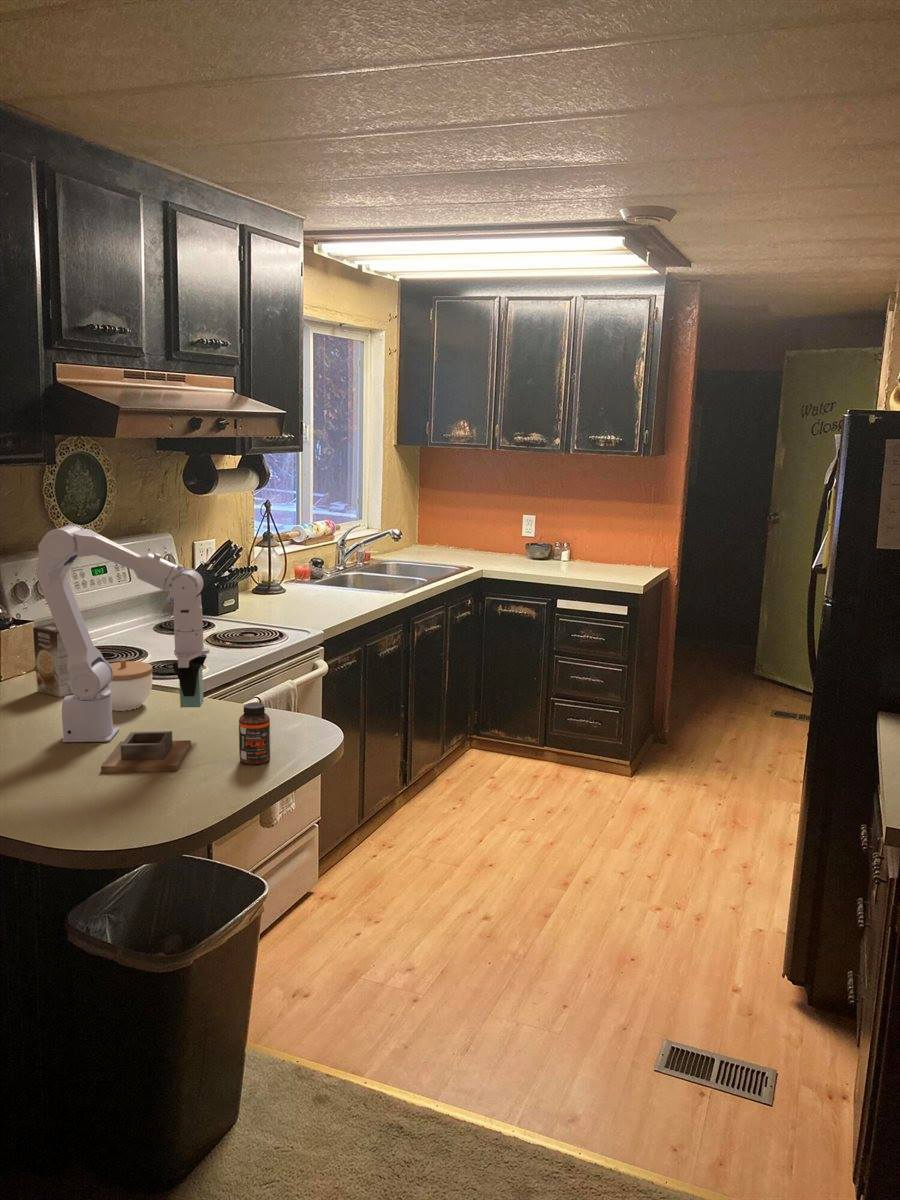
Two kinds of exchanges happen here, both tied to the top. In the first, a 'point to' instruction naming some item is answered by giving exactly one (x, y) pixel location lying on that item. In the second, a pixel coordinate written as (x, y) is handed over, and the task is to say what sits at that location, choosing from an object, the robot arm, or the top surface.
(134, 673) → the lidded bowl
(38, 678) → the coffee box
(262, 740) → the supplement bottle
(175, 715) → the top surface
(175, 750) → the end holder
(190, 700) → the block
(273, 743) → the top surface
